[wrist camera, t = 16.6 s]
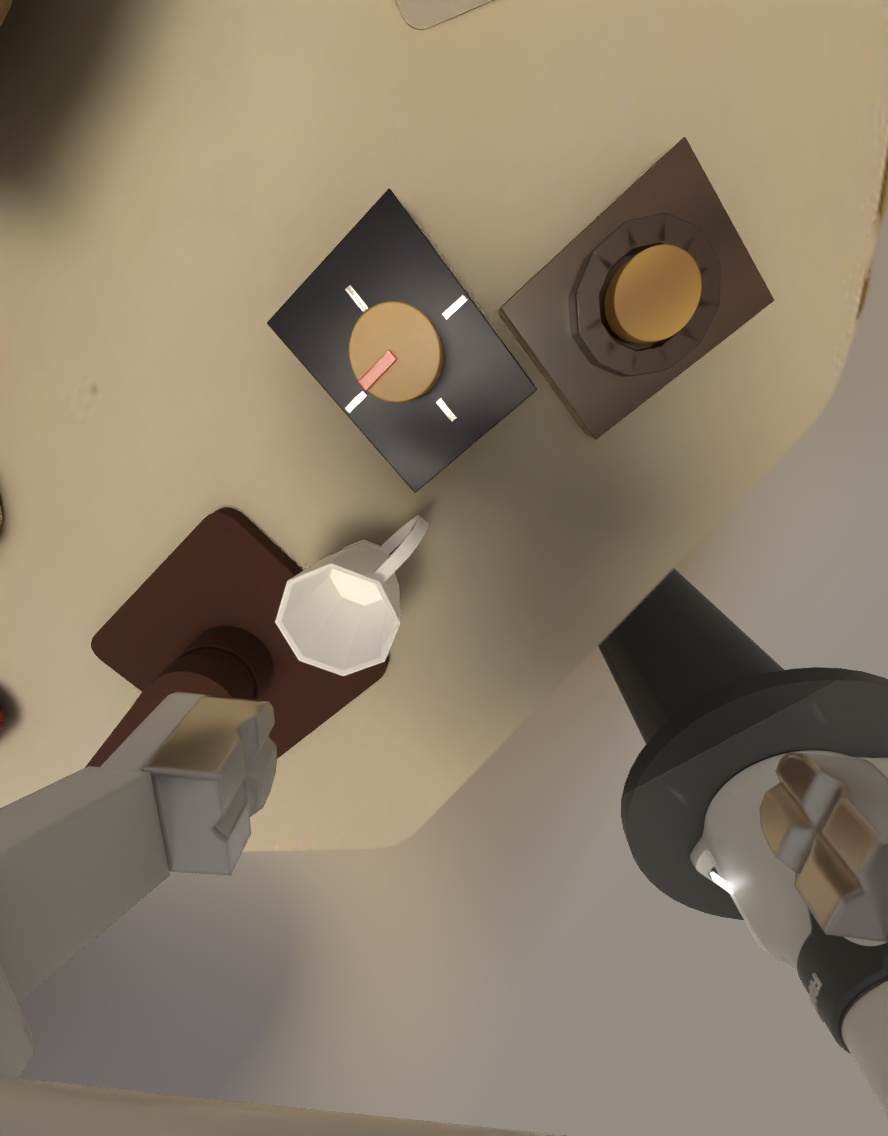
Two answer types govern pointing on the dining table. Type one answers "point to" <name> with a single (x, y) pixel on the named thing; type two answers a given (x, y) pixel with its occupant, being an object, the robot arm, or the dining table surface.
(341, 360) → the dimmer
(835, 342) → the dining table surface
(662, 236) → the switch block
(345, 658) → the cup
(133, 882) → the robot arm
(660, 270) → the switch button
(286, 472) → the dining table surface
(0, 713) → the tomato
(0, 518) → the cake
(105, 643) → the door handle
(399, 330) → the dimmer knob
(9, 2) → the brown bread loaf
